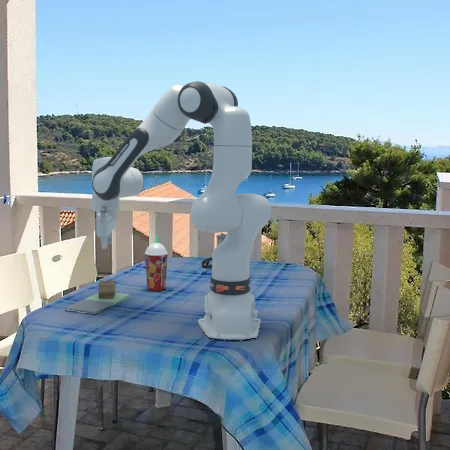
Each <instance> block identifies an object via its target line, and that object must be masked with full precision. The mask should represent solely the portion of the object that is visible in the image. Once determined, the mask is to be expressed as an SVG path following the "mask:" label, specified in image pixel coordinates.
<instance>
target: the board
mask: <svg viewBox="0 0 450 450" xmlns="http://www.w3.org/2000/svg"><path fill="white" fill-rule="evenodd" d="M129 298H130V294H126V293H119V292H115V297H114V299H99V292H97V293H95V294H92V295H91V296H88V297H86V298H83V299H81V300H80V301H77V302H75V303H73V304H71V305H69V306H66V307H65V308H64V310H65V309H69V310H75V311H80V312H87V313H94V314H96V313H98V312H100V311H102V310H104V309H106V308H108V307H110V306H112V307H114V306H115V304H116V305H118V304H119V303H121V302H123V301H125V300H127V299H129ZM117 303H118V304H117ZM113 305H114V306H113ZM110 308H111V307H110ZM108 309H109V308H108ZM106 310H107V309H106ZM104 311H105V310H104ZM102 312H103V311H102ZM100 313H101V312H100ZM98 314H99V313H98ZM96 315H97V314H96Z"/></svg>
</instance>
